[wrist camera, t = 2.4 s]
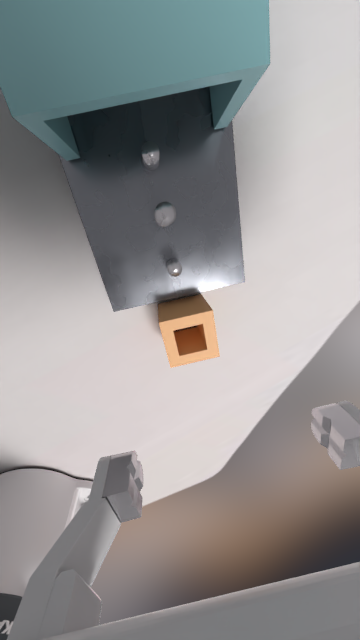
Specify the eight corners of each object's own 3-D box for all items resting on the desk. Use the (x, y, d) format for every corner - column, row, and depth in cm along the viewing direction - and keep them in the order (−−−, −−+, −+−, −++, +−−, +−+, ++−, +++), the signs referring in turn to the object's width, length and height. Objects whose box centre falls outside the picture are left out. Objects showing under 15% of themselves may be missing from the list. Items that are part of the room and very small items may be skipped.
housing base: (239, 278, 22) (267, 294, 17) (116, 306, 22) (103, 331, 16) (203, -116, 13) (241, -384, 7) (-14, -74, 12) (-150, -320, 7)
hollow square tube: (207, 332, 24) (219, 356, 19) (167, 341, 24) (170, 367, 19) (201, 294, 22) (212, 310, 18) (158, 303, 22) (158, 322, 18)
